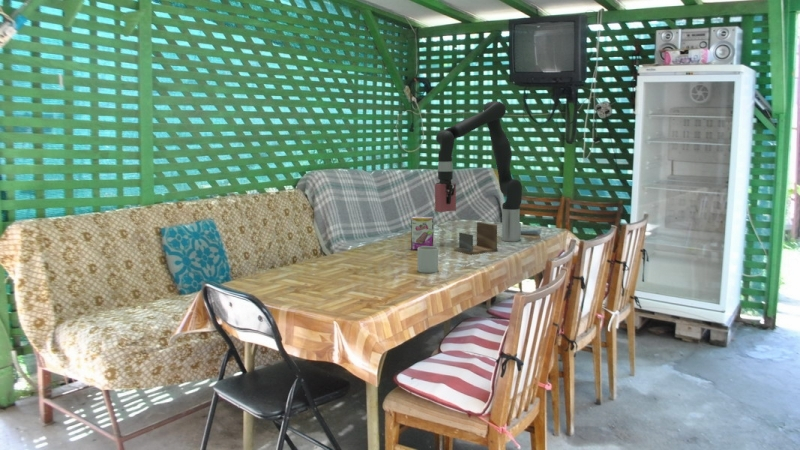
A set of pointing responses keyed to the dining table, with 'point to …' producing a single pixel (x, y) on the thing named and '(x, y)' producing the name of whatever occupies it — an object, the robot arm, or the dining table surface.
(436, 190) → the burgundy book
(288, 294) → the dining table surface
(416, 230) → the candy bar box
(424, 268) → the mug
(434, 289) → the dining table surface
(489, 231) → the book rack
